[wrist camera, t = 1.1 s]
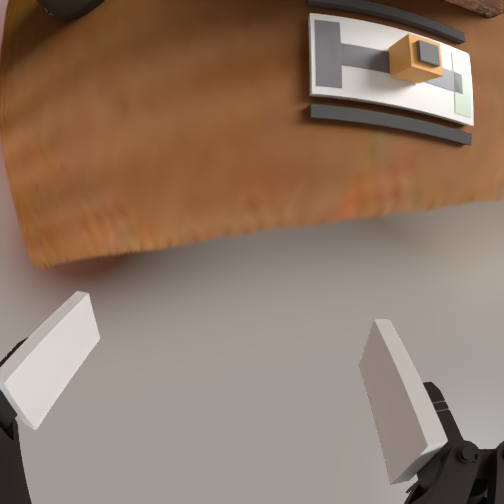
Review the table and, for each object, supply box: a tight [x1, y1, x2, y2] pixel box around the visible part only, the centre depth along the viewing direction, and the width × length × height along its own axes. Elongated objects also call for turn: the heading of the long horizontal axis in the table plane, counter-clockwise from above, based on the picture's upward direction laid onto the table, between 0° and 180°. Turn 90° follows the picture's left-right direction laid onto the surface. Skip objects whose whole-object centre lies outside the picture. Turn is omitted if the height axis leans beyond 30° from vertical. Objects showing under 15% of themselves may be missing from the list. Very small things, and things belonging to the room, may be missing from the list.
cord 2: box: [309, 104, 472, 145], centre depth 29 cm, size 2×23×2 cm, turn 90°
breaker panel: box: [308, 13, 473, 126], centre depth 26 cm, size 11×23×2 cm, turn 89°
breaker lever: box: [389, 34, 443, 84], centre depth 22 cm, size 4×4×7 cm
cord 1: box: [307, 0, 465, 44], centre depth 24 cm, size 2×23×2 cm, turn 90°
